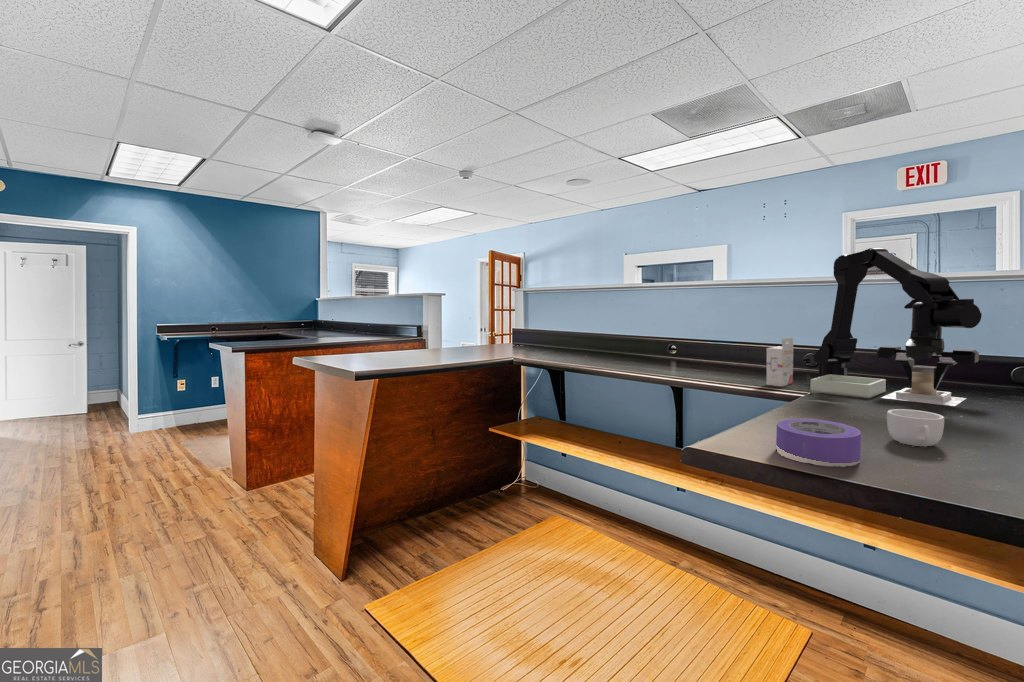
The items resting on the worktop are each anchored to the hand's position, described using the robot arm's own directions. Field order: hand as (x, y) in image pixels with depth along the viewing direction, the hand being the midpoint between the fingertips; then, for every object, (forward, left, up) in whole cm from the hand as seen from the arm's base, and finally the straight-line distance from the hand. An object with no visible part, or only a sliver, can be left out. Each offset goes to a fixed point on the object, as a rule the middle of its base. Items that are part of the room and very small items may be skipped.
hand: (923, 387), depth 118 cm
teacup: (+9, -49, -4) cm, 50 cm away
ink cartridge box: (-34, 0, -4) cm, 35 cm away
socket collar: (0, 0, -3) cm, 3 cm away
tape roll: (0, -68, -4) cm, 68 cm away
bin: (-15, -3, -3) cm, 16 cm away
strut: (0, 0, -3) cm, 3 cm away
